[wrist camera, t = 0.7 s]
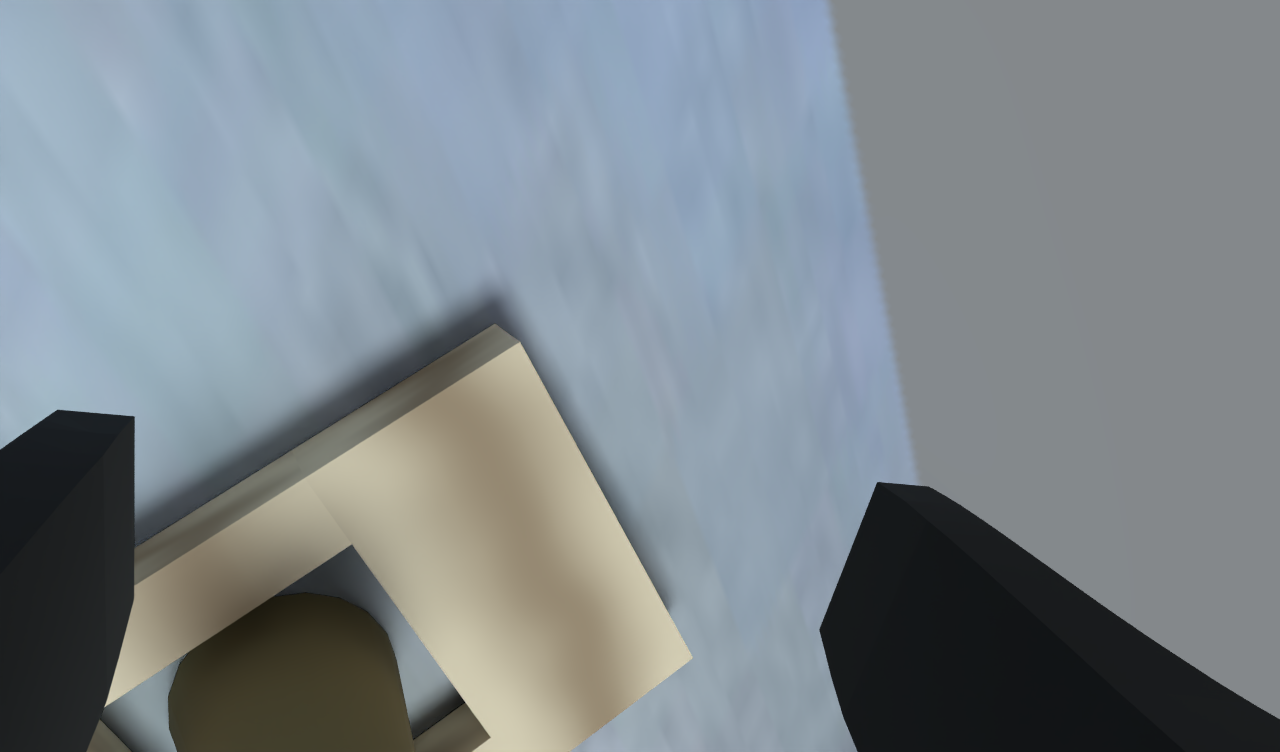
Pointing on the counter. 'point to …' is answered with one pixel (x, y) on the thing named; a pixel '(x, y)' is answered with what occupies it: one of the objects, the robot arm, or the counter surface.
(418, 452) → the socket board
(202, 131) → the counter surface
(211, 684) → the cork
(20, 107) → the counter surface
